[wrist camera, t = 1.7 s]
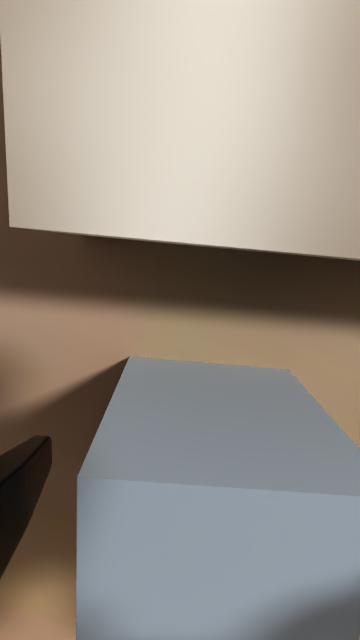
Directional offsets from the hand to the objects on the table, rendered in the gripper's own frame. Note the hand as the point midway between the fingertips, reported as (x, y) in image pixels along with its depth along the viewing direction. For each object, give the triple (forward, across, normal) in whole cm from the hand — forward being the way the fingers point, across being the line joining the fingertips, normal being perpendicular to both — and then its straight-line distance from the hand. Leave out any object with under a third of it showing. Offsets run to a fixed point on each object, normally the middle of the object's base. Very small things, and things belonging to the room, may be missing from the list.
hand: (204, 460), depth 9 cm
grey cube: (+1, 0, 0) cm, 1 cm away
